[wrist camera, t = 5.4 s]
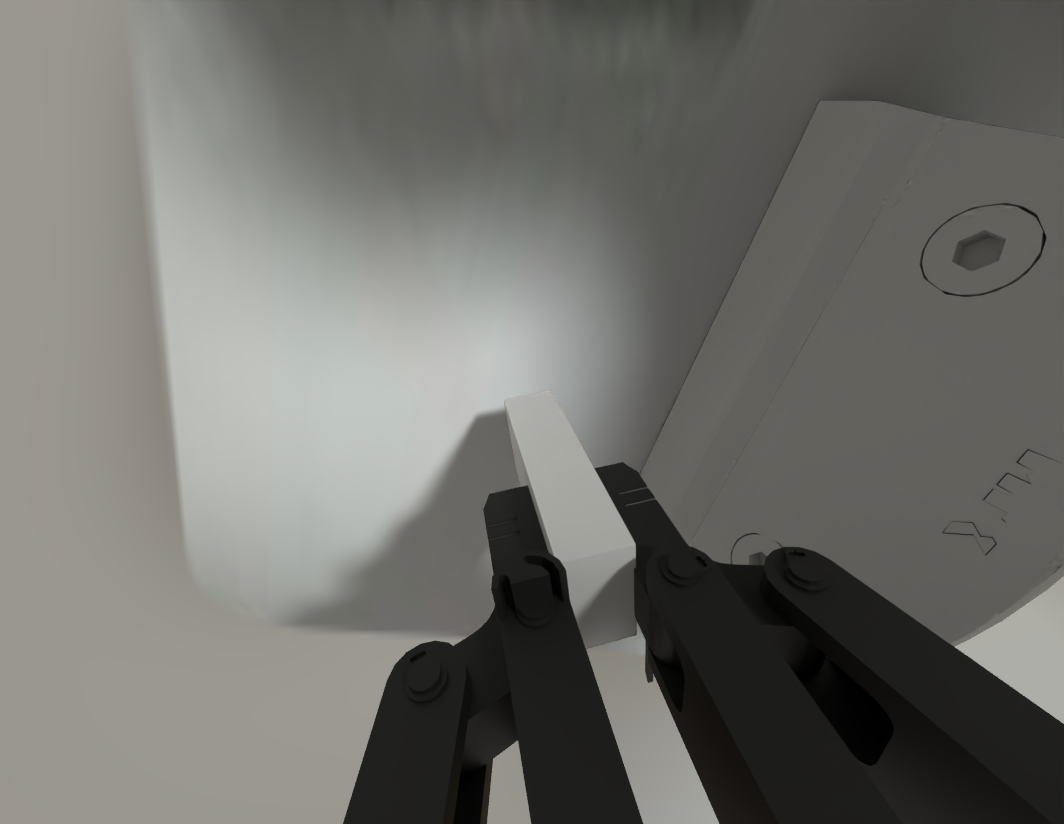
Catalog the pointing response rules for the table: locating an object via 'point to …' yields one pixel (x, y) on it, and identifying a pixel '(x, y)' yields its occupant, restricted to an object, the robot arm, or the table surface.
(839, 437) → the hinge
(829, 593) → the robot arm
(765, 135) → the table surface
